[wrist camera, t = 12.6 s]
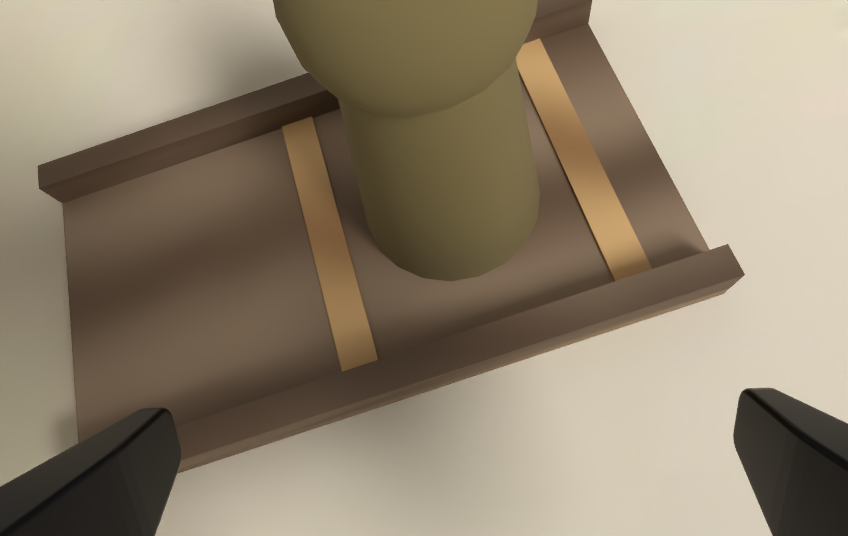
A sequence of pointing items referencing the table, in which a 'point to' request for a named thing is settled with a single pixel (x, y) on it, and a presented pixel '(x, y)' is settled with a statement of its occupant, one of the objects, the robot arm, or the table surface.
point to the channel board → (351, 257)
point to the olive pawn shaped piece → (429, 122)
